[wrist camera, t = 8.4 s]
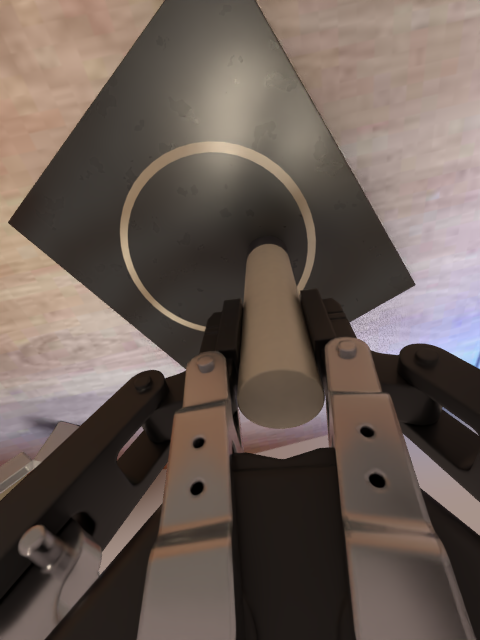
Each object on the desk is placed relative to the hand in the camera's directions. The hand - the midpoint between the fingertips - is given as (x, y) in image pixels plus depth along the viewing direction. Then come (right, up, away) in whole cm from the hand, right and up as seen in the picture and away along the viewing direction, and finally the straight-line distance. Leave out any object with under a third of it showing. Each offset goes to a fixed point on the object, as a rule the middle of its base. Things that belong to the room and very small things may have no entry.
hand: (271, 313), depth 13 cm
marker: (0, +4, +6) cm, 7 cm away
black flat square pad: (-3, +4, +7) cm, 8 cm away
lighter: (-20, -12, +18) cm, 30 cm away
